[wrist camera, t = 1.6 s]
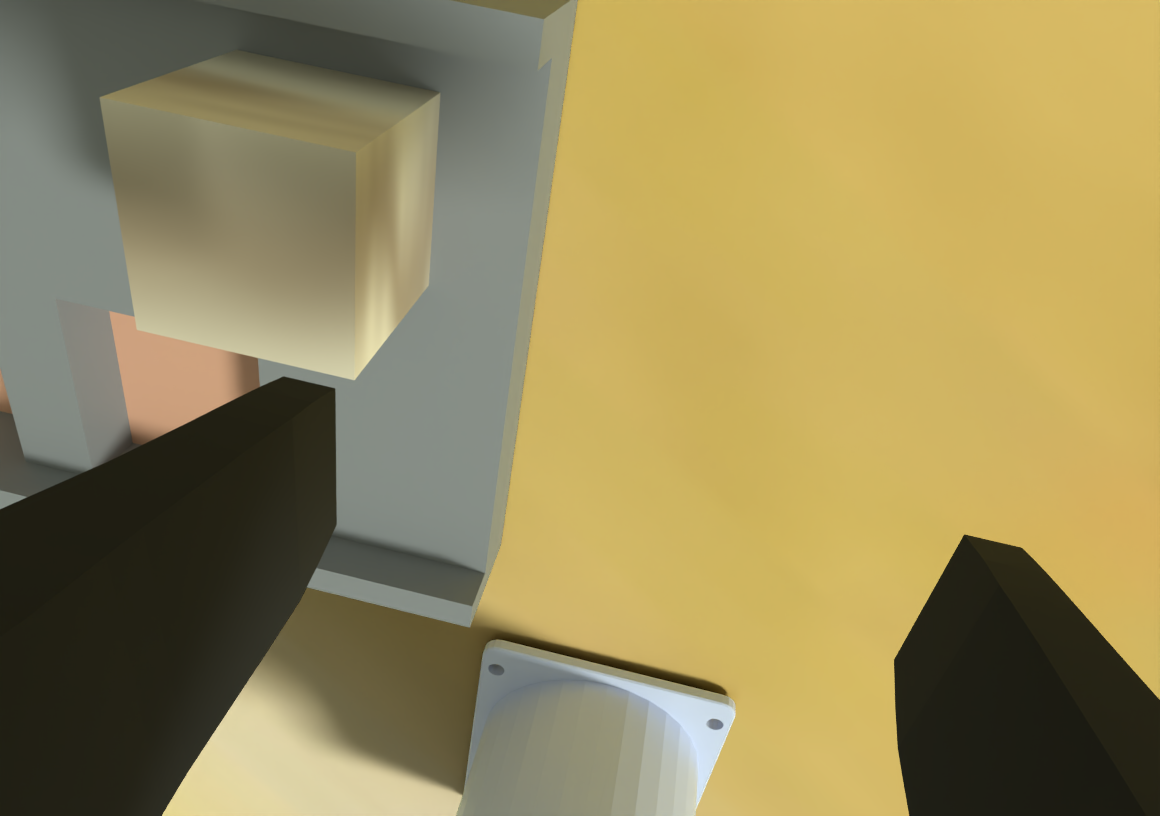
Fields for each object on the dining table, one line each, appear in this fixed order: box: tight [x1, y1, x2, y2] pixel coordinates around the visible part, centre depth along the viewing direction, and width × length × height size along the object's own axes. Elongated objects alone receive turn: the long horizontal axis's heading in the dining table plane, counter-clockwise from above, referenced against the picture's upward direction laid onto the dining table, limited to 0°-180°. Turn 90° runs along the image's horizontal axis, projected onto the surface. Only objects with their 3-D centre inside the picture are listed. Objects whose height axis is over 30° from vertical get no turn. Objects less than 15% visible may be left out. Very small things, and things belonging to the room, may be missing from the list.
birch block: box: [100, 50, 440, 380], centre depth 15 cm, size 4×4×4 cm
